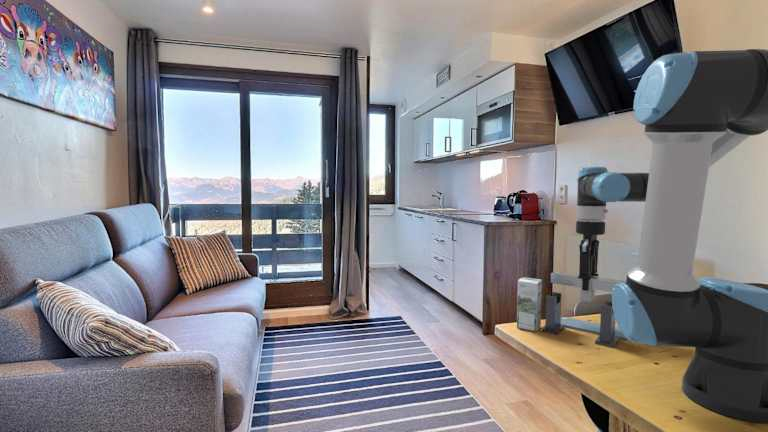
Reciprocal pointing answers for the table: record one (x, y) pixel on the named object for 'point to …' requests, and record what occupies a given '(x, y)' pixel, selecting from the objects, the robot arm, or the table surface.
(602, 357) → the table surface
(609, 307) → the post near
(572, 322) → the mat
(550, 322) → the post far
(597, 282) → the rail
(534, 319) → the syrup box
